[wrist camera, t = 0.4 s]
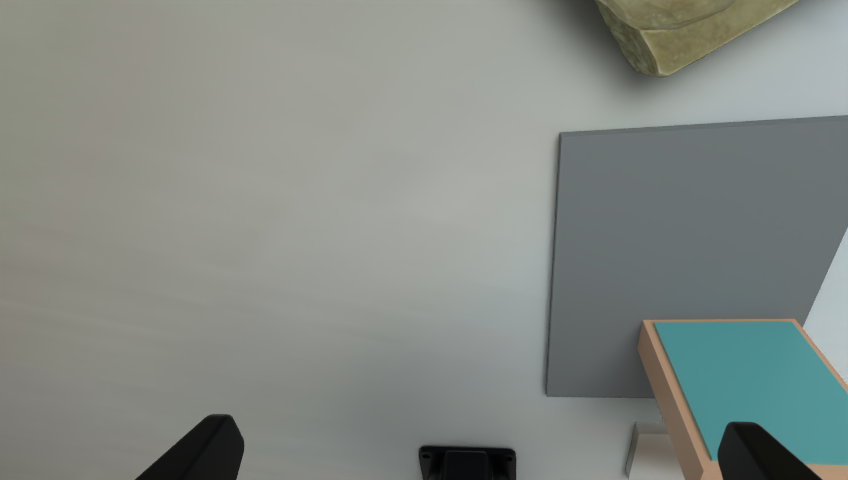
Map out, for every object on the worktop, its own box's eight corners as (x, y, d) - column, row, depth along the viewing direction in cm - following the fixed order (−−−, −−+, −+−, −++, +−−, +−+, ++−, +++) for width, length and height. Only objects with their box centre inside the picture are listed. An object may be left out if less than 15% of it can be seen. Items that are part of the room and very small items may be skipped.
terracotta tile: (782, 348, 24) (895, 508, 18) (637, 348, 25) (692, 500, 19) (796, 315, 23) (922, 475, 16) (643, 317, 24) (705, 467, 17)
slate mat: (765, 392, 27) (770, 399, 26) (545, 389, 28) (546, 396, 28) (887, 112, 18) (896, 117, 18) (560, 132, 20) (561, 137, 19)
